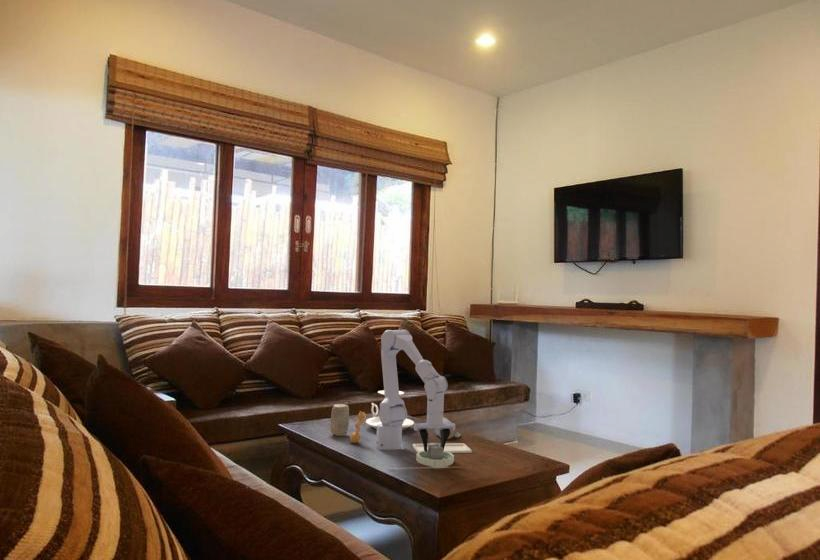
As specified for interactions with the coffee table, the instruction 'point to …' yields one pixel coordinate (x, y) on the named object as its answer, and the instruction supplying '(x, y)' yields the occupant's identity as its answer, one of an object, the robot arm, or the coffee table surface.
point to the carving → (339, 419)
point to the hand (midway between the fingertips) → (433, 450)
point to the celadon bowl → (431, 463)
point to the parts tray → (447, 448)
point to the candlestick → (376, 420)
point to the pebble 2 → (437, 453)
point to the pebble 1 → (430, 448)
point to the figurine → (358, 427)
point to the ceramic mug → (452, 432)
